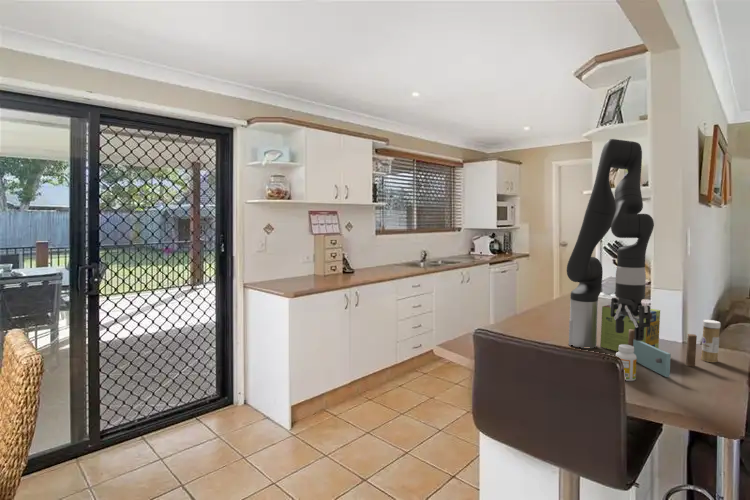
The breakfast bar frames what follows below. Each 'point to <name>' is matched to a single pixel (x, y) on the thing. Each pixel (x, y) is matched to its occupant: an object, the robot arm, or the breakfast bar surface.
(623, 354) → the supplement bottle
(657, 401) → the breakfast bar surface
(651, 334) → the protein box
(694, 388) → the breakfast bar surface
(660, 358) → the door
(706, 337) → the sprinkles bottle
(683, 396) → the breakfast bar surface
